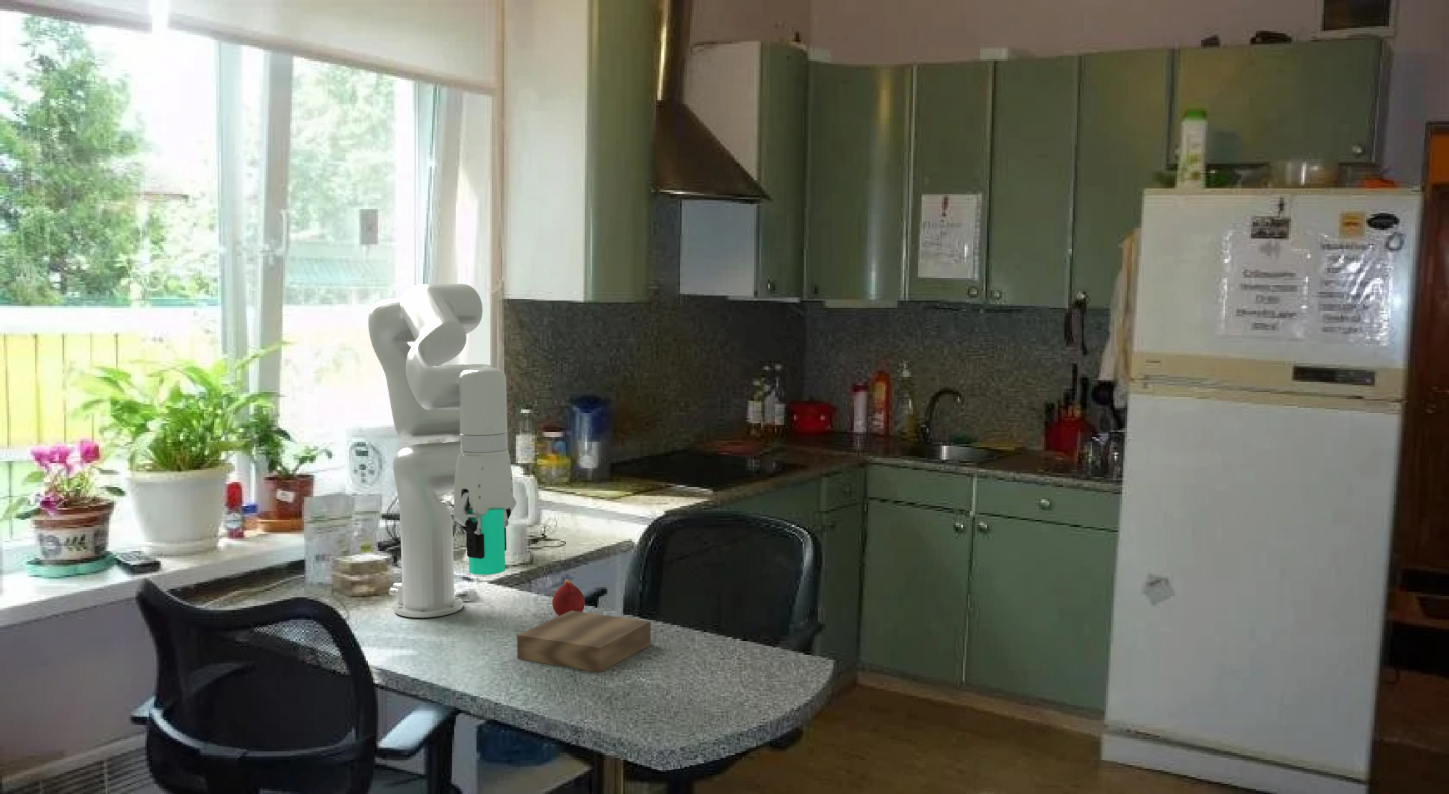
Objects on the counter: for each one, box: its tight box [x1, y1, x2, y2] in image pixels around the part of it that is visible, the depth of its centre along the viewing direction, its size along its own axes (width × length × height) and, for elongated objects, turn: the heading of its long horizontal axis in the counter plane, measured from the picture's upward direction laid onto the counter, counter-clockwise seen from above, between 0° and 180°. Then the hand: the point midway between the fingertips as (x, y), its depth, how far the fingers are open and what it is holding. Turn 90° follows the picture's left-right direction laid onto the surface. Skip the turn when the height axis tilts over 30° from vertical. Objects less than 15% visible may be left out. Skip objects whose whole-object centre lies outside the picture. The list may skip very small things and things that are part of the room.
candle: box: [468, 507, 506, 576], centre depth 190 cm, size 6×6×12 cm
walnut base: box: [516, 611, 652, 673], centre depth 194 cm, size 16×16×4 cm
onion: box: [551, 578, 586, 617], centre depth 210 cm, size 6×6×8 cm
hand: (486, 552), depth 190 cm, fingers closed on candle, 4 cm apart
